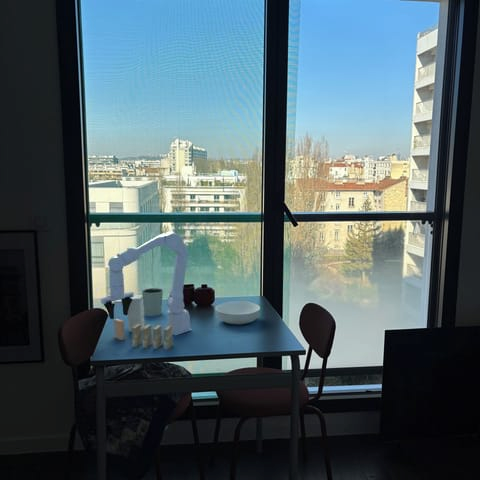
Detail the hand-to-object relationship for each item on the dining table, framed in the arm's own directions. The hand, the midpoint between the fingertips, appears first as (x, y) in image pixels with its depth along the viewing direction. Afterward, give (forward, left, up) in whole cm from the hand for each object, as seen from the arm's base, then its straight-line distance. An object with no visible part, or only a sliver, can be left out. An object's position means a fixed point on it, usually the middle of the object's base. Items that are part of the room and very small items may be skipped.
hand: (118, 316), depth 195 cm
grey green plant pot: (-31, -18, -10) cm, 37 cm away
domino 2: (-3, +16, -9) cm, 19 cm away
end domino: (0, 0, -9) cm, 9 cm away
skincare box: (-12, -5, -10) cm, 16 cm away
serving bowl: (-49, +23, -10) cm, 55 cm away
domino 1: (0, +12, -9) cm, 15 cm away
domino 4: (-7, +24, -9) cm, 27 cm away
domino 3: (-5, +20, -9) cm, 23 cm away
